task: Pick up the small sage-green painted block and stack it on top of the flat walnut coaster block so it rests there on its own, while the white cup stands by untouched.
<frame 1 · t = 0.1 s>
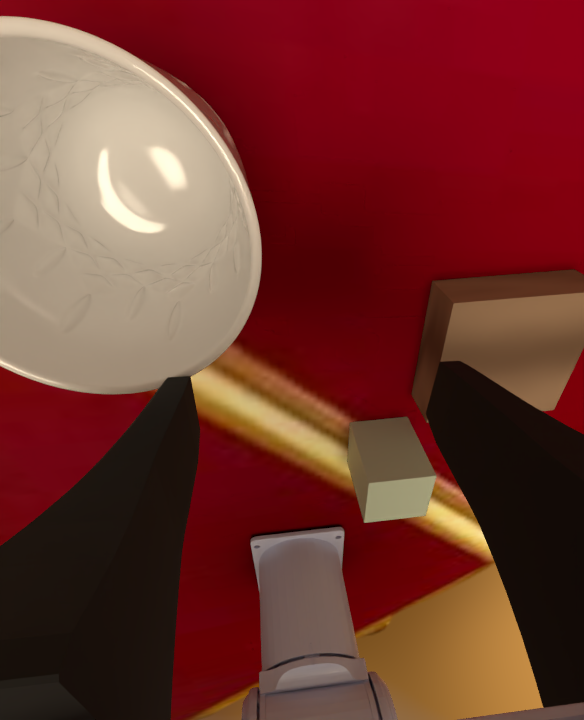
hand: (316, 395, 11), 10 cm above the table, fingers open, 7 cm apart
white cup: (160, 171, 17), on the table
green block: (376, 439, 28), on the table
walnut base: (482, 334, 24), on the table
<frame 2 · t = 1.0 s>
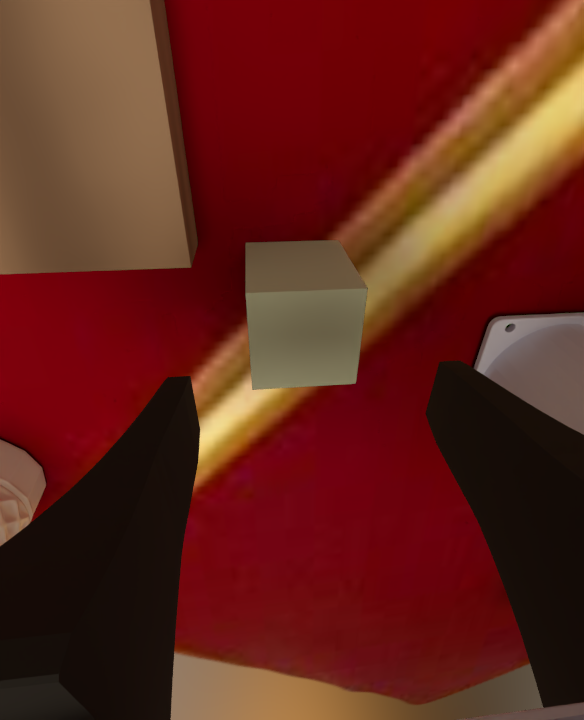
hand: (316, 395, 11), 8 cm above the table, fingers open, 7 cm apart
green block: (292, 284, 18), on the table
walnut base: (71, 134, 14), on the table
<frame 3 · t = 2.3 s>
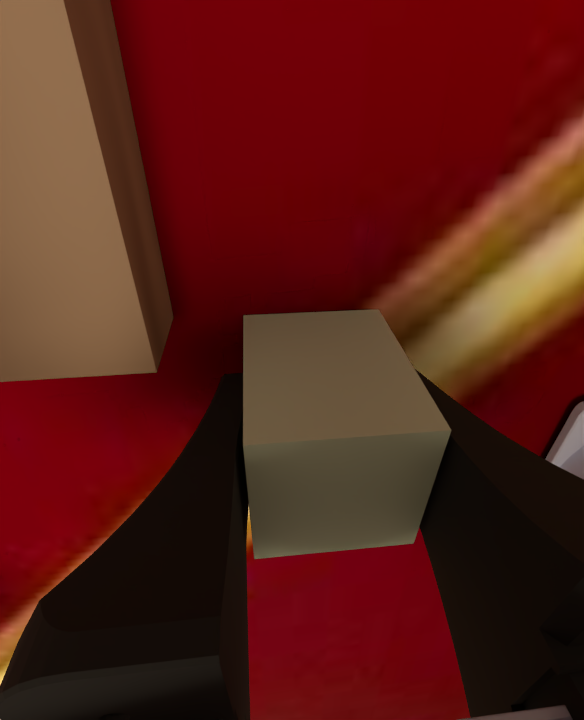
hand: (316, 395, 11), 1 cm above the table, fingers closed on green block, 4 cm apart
green block: (309, 367, 13), on the table, touching gripper
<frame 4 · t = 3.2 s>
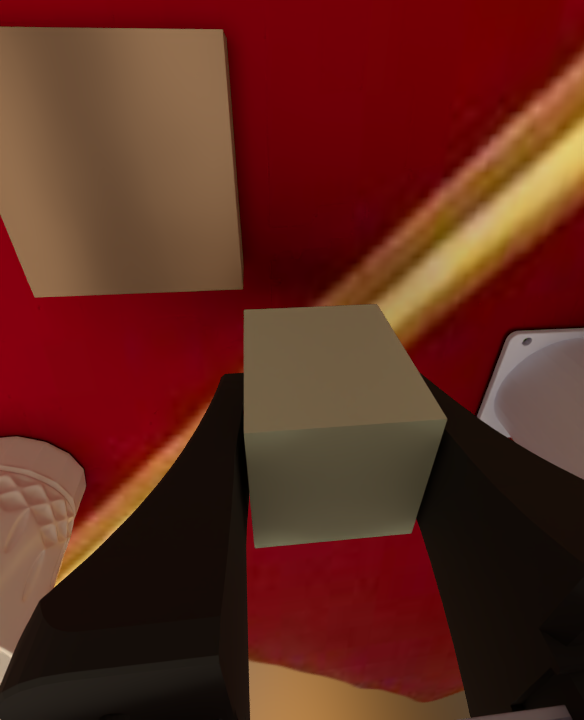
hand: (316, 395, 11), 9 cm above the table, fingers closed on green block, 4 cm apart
white cup: (30, 470, 24), on the table
green block: (309, 361, 13), point 7 cm above the table, touching gripper
walnut base: (135, 168, 16), on the table
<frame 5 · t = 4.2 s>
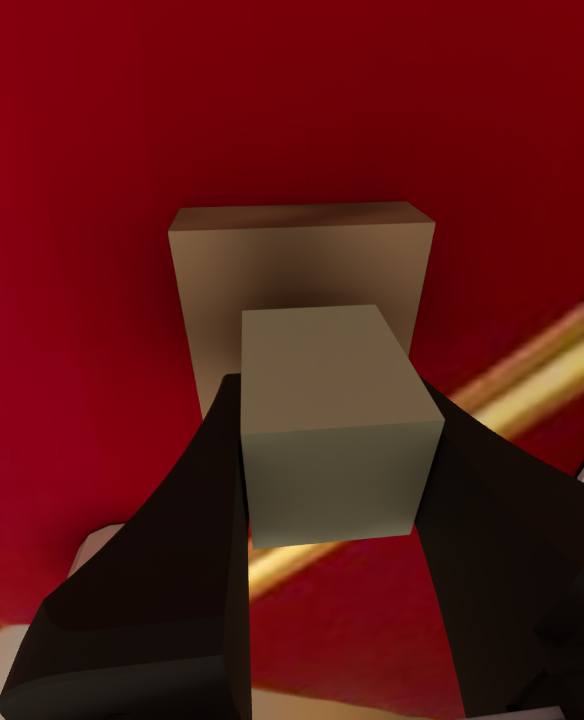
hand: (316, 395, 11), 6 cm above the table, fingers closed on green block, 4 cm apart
white cup: (138, 548, 25), on the table
green block: (308, 362, 13), point 4 cm above the table, touching gripper
walnut base: (294, 302, 16), on the table
when the fingers open (6 cm above the table, at t = 4.5 s): green block drops 1 cm, point 3 cm above the table.
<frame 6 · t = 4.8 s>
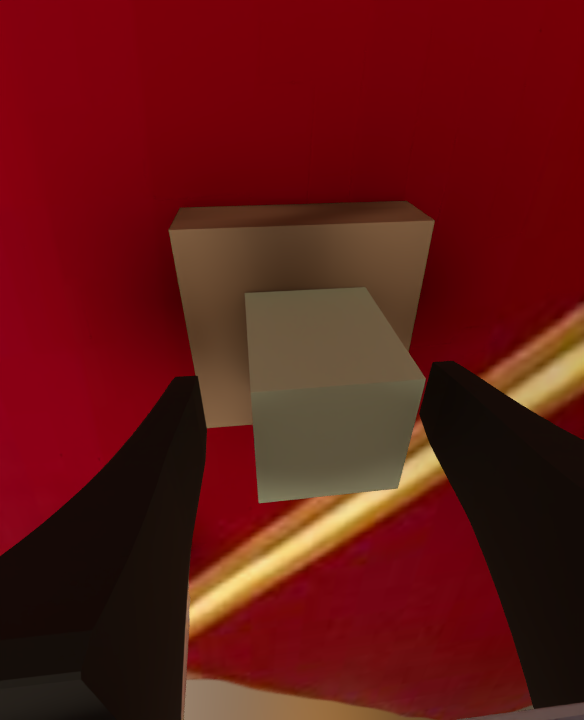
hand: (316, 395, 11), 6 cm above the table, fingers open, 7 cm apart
white cup: (138, 548, 25), on the table
green block: (304, 341, 14), point 3 cm above the table
walnut base: (294, 301, 16), on the table
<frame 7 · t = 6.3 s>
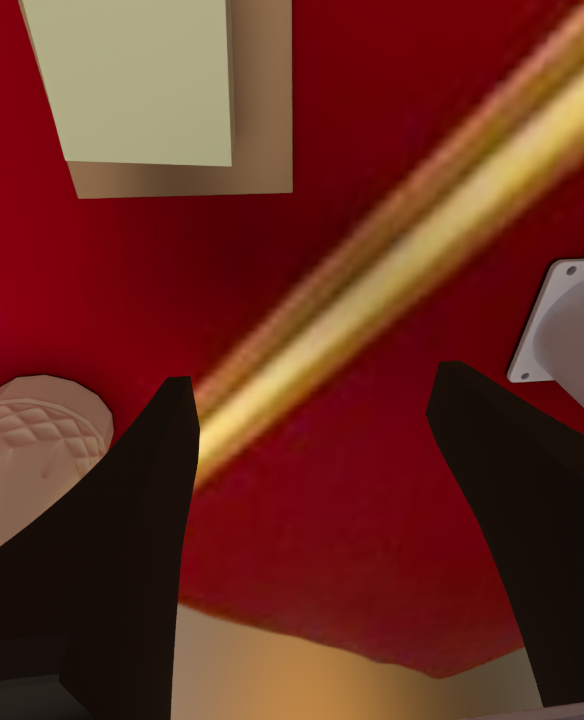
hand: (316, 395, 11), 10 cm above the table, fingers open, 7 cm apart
white cup: (56, 415, 24), on the table
green block: (170, 64, 12), point 3 cm above the table, touching walnut base
walnut base: (180, 66, 15), on the table, touching green block
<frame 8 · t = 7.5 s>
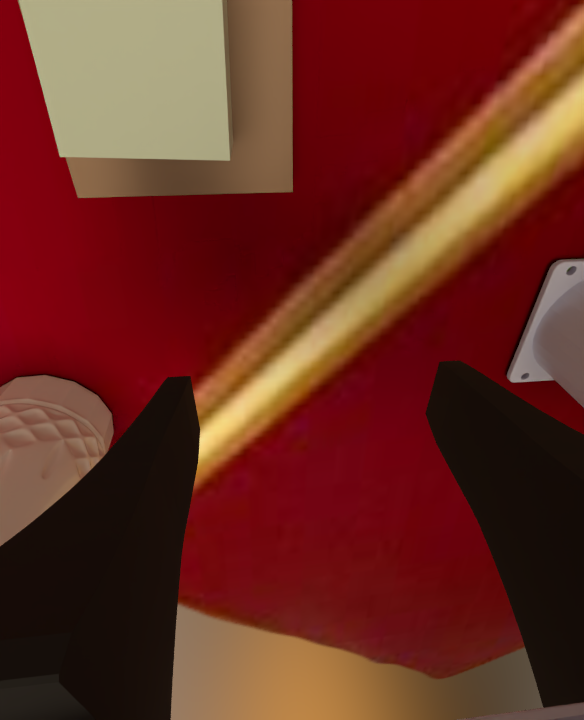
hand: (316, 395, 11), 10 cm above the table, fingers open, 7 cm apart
white cup: (56, 415, 24), on the table
green block: (167, 69, 13), point 3 cm above the table, touching walnut base
walnut base: (180, 65, 15), on the table, touching green block
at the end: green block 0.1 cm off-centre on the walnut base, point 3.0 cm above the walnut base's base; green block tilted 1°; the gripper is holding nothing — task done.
